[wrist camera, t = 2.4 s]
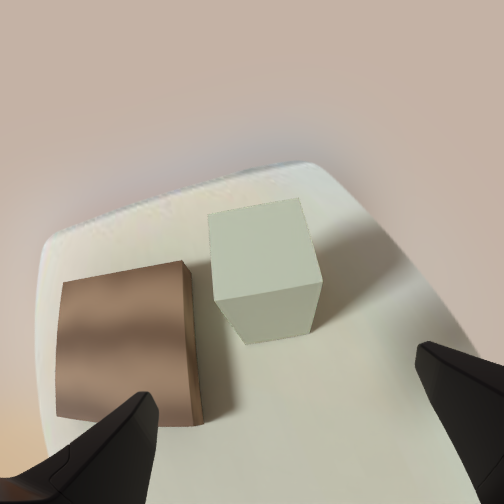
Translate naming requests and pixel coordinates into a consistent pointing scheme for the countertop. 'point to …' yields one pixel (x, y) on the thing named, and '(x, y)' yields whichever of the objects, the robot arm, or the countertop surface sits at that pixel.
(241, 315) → the sage block
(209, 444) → the countertop surface
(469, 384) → the robot arm
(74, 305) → the walnut stand
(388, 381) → the countertop surface
